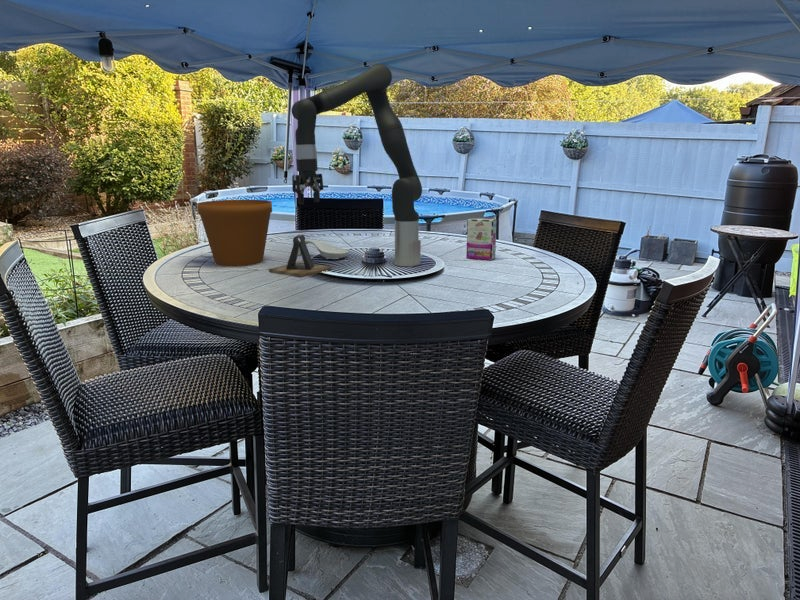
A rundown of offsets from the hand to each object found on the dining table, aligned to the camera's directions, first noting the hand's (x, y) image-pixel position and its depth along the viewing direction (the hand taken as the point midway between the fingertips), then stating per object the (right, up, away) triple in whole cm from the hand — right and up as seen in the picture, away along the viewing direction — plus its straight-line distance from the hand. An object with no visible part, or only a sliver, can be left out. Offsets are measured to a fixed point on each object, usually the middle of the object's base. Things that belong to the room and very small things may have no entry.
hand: (309, 203), depth 212 cm
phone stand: (-3, -24, +1) cm, 24 cm away
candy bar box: (+67, -19, +25) cm, 74 cm away
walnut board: (-3, -25, +1) cm, 25 cm away
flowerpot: (-31, -21, +19) cm, 42 cm away
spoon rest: (+1, -18, +29) cm, 34 cm away
